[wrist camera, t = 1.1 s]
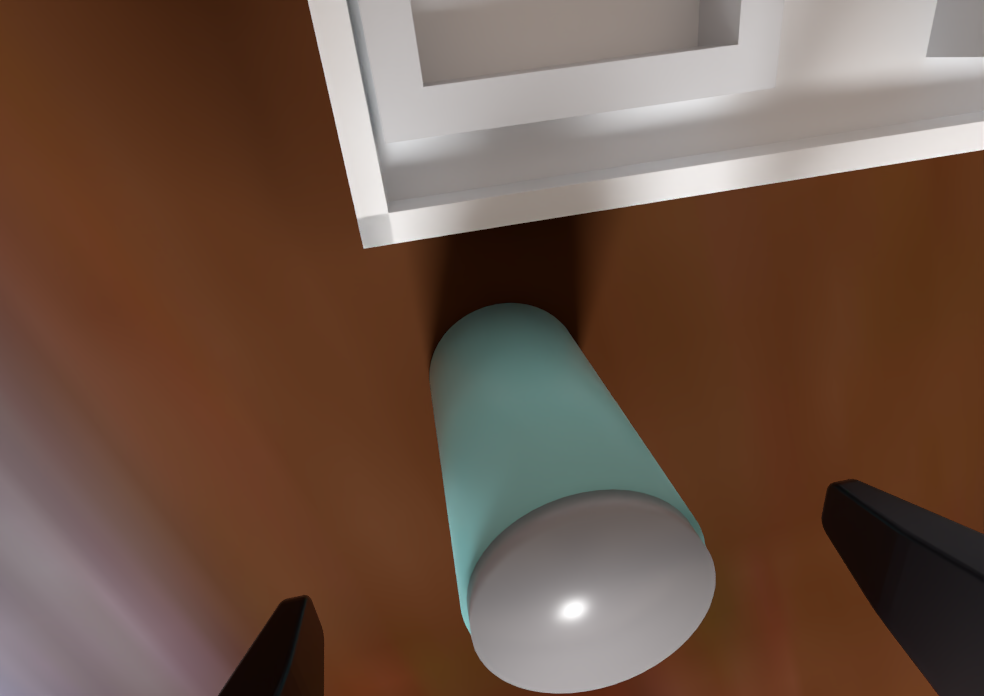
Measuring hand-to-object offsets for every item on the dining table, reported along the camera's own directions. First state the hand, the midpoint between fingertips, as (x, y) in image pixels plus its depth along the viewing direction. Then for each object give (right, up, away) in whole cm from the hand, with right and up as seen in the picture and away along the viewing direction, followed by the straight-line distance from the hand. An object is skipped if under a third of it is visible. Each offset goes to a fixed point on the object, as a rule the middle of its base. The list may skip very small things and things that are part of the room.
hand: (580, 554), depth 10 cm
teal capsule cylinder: (-1, +3, +6) cm, 6 cm away
